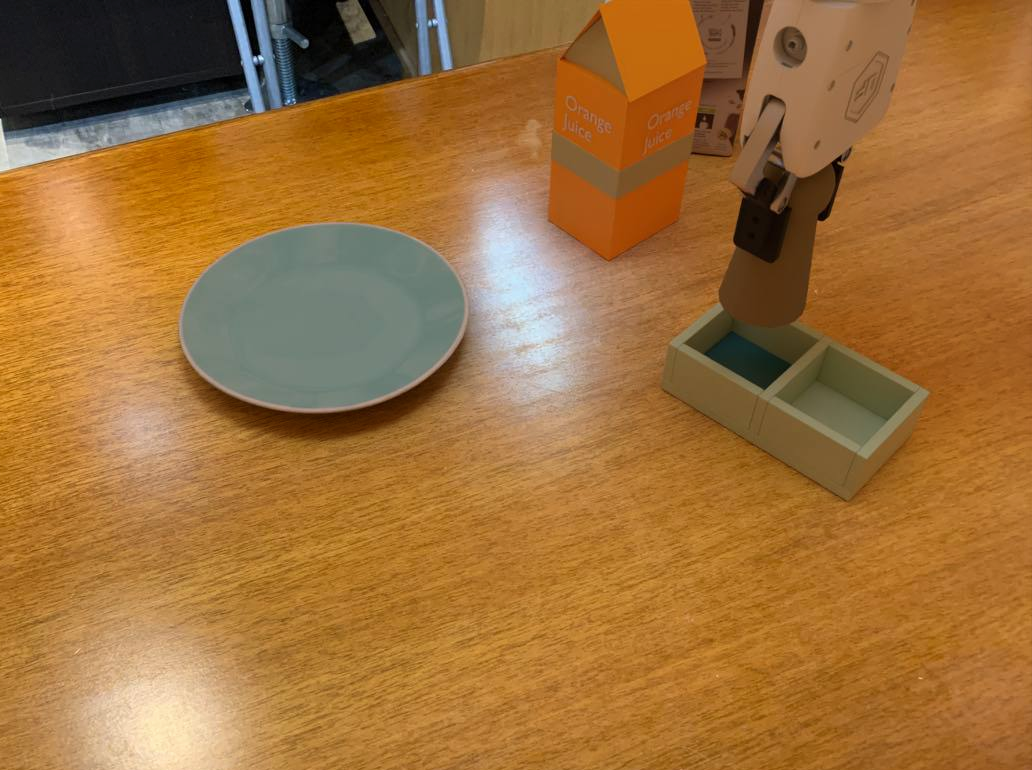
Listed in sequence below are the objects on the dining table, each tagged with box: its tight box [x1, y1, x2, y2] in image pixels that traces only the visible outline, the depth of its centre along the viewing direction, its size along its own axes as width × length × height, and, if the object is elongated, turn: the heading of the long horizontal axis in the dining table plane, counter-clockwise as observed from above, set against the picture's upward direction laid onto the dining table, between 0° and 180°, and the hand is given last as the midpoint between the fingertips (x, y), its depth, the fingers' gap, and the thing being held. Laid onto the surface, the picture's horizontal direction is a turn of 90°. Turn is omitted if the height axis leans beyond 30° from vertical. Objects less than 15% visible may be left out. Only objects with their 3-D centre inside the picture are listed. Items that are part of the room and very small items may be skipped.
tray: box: [660, 301, 931, 503], centre depth 79 cm, size 16×9×4 cm, turn 47°
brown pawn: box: [718, 145, 835, 328], centre depth 71 cm, size 6×6×11 cm
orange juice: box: [547, 0, 707, 262], centre depth 87 cm, size 8×9×20 cm
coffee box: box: [689, 0, 765, 157], centre depth 97 cm, size 9×6×16 cm
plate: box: [177, 221, 471, 414], centre depth 84 cm, size 22×22×3 cm
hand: (781, 229), depth 71 cm, fingers closed on brown pawn, 5 cm apart
